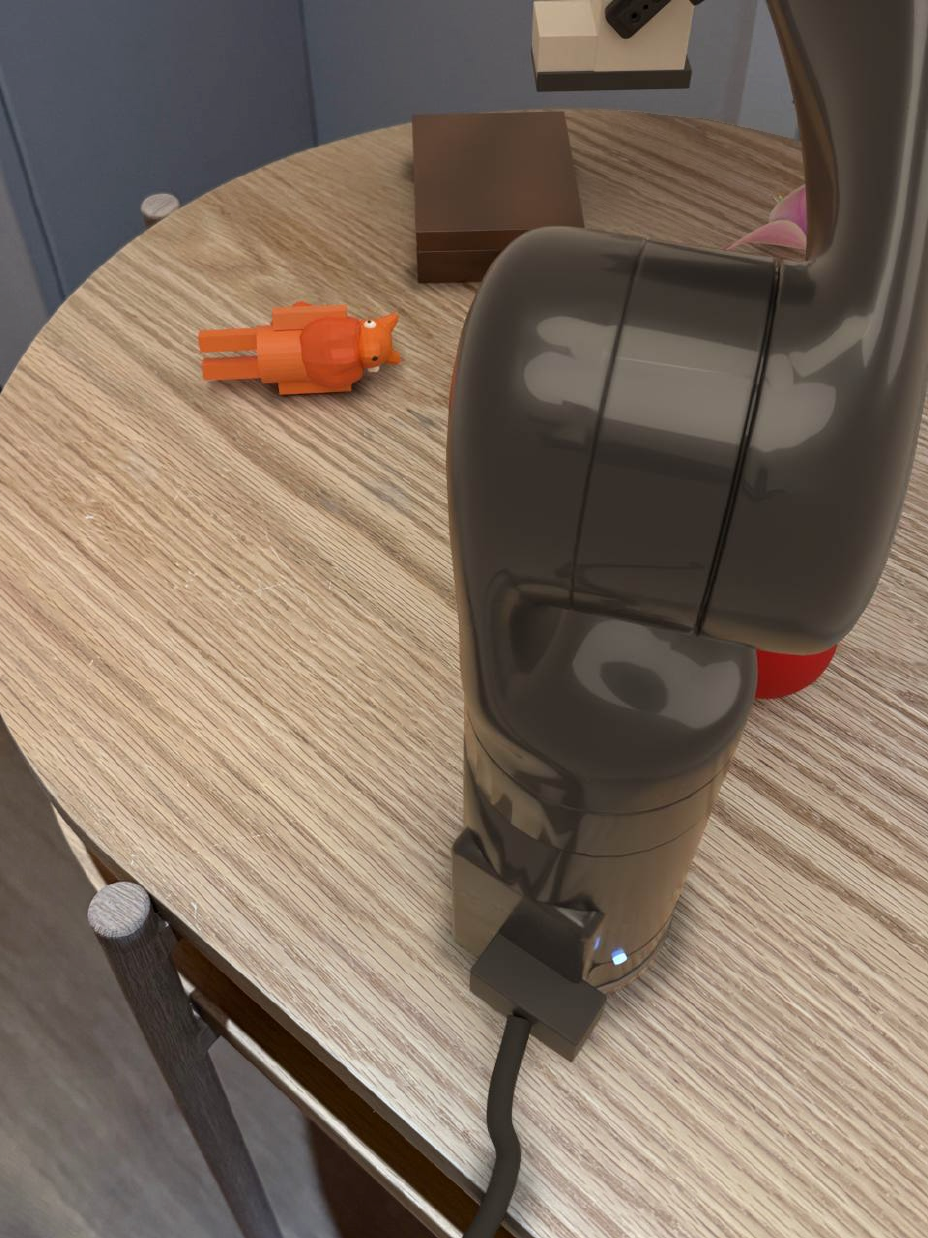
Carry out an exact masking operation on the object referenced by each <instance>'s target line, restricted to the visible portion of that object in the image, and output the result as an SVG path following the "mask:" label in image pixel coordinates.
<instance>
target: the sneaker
mask: <svg viewBox="0 0 928 1238" xmlns="http://www.w3.org/2000/svg"><path fill="white" fill-rule="evenodd" d="M612 1H613V0H534V1H533V6H532V7H533V8H532V10H533V11H532V24H531V25H532V26H531V40H530V41H531V43H530V55H531V64H532V69H533V76H534V82H535V88H536V92H537V93H543V92H544V93H545V92H546V93H547V92H552V93H553V92H586V91H587V92H590V91H591V92H592V91H598V92H599V91H631V90H632V91H637V90H638V91H639V90H642V91H643V90H681V89H682V90H684V89H685V90H687V89H690V86H691V80H692V74H693V68H692V65H691V63H690V59H689V55H688V46H689V41H690V33H691V28H692V21H693V16H694V8H695V6H694V5H693V4H692V3H691V2H690V1H689V0H671V1H670V2H669V3H668V4H667V5H666V6H665V7H664V8H663V9H662V10H661V11H659V12H658V13H657V14H656V15H655V16H654V17H653V18H652V19H651V20H650V21H649V22H647V23H646V24H645V25H644V26H643V27H642V28H641V29H640V30H639V31H638V32H637V33H636V34H634V35H633V36H632V37H631V38H629V39H623V38H621V37H620V36H619V35H618V33H617V32H616V31H615V30H614V29H613V28H612V27H611V26H610V25H609V23H608V22H607V21H606V17H605V8H606V7H607V5H608V4H609V3H611V2H612Z"/></svg>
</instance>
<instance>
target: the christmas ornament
mask: <svg viewBox="0 0 928 1238" xmlns="http://www.w3.org/2000/svg"><path fill="white" fill-rule="evenodd" d="M838 646H839V643H838V644H836V645H835V646H833V647H832V648H830V649H829V650H826V651H823V652H821V653H818V654H812V655H804V656H803V655H792V654H781V653H774V652H768V651H763V650H757V649H756V656H757V668H758V677H757V688H756V692H755V697H754V700H774V699H775V700H776V699H781V698H785V697H787V696H788V697H789V696H792V695H794V694H796V693H799V692H800V691H802V690H804V689H806V688H807V687H809V686H810V685H812V684H813V683H814V682H816V681H817V680H818V679H819V678H820V677H821V675H823V674H824V672H825V671H827V668H828V666H829V665H830V664H831V662H832V660H833V658H834V656H835V654H836V651H837V648H838Z"/></svg>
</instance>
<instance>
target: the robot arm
mask: <svg viewBox="0 0 928 1238" xmlns="http://www.w3.org/2000/svg"><path fill="white" fill-rule="evenodd" d="M670 1H671V0H613V1H612V2H611V3H609V4H608V5H607V7H606V8H605V17H606V21H607V22H608V23H609V25H610V26H611V27H612V28H613V29H614V30H615V31H616V32H617V33H618V35H619V36H620V37H621V38H623V39H629V38H631V37H632V36H633V35H634V34H636V33H637V32H638V31H639V30H640V29H641V28H642V27H643V26H644V25H645V24H646V23H647V22H649V21H650V20H651V19H652V18H653V17H654V16H655V15H656V14H657V13H658V12H659V11H661V10H662V9H663V8H664V7H665V6H666V5H667V4H668V3H669V2H670ZM689 1H690V2H691V3H692V4H693V5H694V7H695V6H698V5H701V4H702V3H703V2H705V0H689ZM764 3H765V5H766V7H767V10H768V13H769V16H770V19H771V22H772V24H773V26H774V31H775V34H776V37H777V41H778V44H779V48H780V51H781V52H780V53H781V55H782V59H783V62H784V66H785V67H784V68H785V70H786V74H787V78H788V82H789V87H790V90H791V96H792V100H793V105H794V109H795V114H796V121H797V126H798V132H799V133H798V134H799V138H800V145H801V156H802V166H803V177H804V184H805V189H806V215H807V227H806V251H805V257H804V261H800V262H799V261H794V260H790V259H786V258H784V259H783V258H782V259H780V260H778V262H776V260H775V258H774V257H771V256H764V255H758V254H752V253H748V252H747V253H746V252H741V251H740V252H739V251H734V250H729V249H728V250H722V249H720V248H715V247H710V246H709V247H708V246H702V245H697V244H690V243H685V242H684V243H683V242H677V241H670V240H665V239H659V238H646V237H642V236H637V235H631V234H624V233H619V232H614V231H607V230H601V229H596V228H594V229H593V228H588V227H585V228H580V227H572V226H543V227H539V228H535V229H531V230H529V231H527V232H525V233H523V234H522V235H520V236H519V237H517V238H515V239H514V240H513V241H512V242H510V243H509V244H508V245H507V247H506V248H505V249H504V250H503V251H502V252H501V253H500V254H499V255H498V256H497V257H496V259H495V260H494V261H493V262H492V264H491V266H490V267H489V269H488V271H487V273H486V274H485V276H484V278H483V280H482V281H480V284H479V286H478V287H477V289H476V292H475V294H474V296H473V299H472V300H471V304H470V306H469V308H468V311H467V314H466V317H465V319H464V323H463V326H462V329H461V333H460V337H459V340H458V343H457V348H456V354H455V358H454V364H453V369H452V375H451V381H450V389H449V391H450V392H449V398H448V399H449V400H448V412H447V413H448V414H447V429H446V442H445V443H446V444H445V474H446V476H445V477H446V497H447V498H446V499H447V516H448V517H447V518H448V535H449V543H450V552H451V562H452V572H453V581H454V590H455V599H456V607H457V608H456V610H457V611H456V612H457V622H458V648H459V650H458V651H459V654H458V655H459V670H460V678H461V685H462V690H463V764H462V765H463V773H462V774H463V779H462V780H463V781H462V782H463V784H462V785H463V789H462V791H463V792H462V795H463V803H462V804H463V805H462V807H463V808H462V812H463V813H462V820H463V821H462V822H463V823H462V825H463V827H462V830H461V832H460V833H459V834H458V836H457V837H456V838H455V839H454V840H453V842H452V844H451V847H450V862H451V863H450V868H451V869H450V870H451V925H452V926H451V927H452V929H451V930H452V932H451V933H452V940H453V941H454V942H455V944H458V945H459V946H460V947H462V948H463V949H464V950H466V951H467V952H469V953H470V954H472V955H474V956H475V957H476V958H478V959H477V960H476V961H475V962H474V964H473V965H472V966H471V968H470V969H469V988H468V989H469V992H470V993H472V994H473V995H474V996H475V997H476V998H478V999H480V1000H481V1001H483V1002H484V1003H485V1004H487V1005H488V1006H490V1007H491V1008H492V1009H494V1010H495V1011H497V1012H498V1013H499V1014H501V1015H502V1016H504V1017H505V1018H506V1022H505V1025H504V1031H503V1034H502V1037H501V1041H500V1044H499V1048H498V1050H497V1054H496V1058H495V1061H494V1065H493V1068H492V1073H491V1077H490V1082H489V1087H488V1093H487V1100H486V1101H487V1103H486V1115H485V1116H486V1127H487V1132H488V1135H489V1138H490V1140H491V1143H492V1145H493V1148H494V1152H495V1160H494V1161H495V1162H494V1165H493V1169H492V1173H491V1177H490V1181H489V1183H488V1186H487V1189H486V1192H485V1194H484V1197H483V1199H482V1201H481V1204H480V1205H479V1208H478V1210H477V1211H476V1214H475V1215H474V1217H473V1218H472V1220H471V1222H470V1224H469V1226H468V1227H467V1228H466V1230H465V1231H464V1233H463V1234H462V1236H461V1238H494V1237H495V1235H496V1233H497V1232H498V1230H499V1228H500V1226H501V1225H502V1222H503V1220H504V1218H505V1215H506V1213H507V1211H508V1209H509V1207H510V1203H511V1200H512V1197H513V1195H514V1192H515V1190H516V1189H515V1188H516V1186H517V1181H518V1177H519V1173H520V1169H521V1164H522V1148H521V1142H520V1140H519V1137H518V1134H517V1132H516V1130H515V1129H516V1128H515V1126H514V1122H513V1105H514V1098H515V1097H514V1096H515V1091H516V1086H517V1082H518V1077H519V1073H520V1069H521V1067H522V1062H523V1060H524V1059H523V1058H524V1055H525V1052H526V1048H527V1044H528V1041H529V1038H530V1035H531V1036H532V1037H534V1038H535V1039H536V1040H538V1041H539V1042H541V1043H542V1044H544V1045H545V1046H546V1047H548V1048H549V1049H550V1050H552V1051H553V1052H555V1053H556V1054H558V1055H559V1056H561V1057H562V1058H563V1059H565V1060H566V1061H568V1062H569V1063H573V1062H574V1061H575V1060H576V1058H577V1056H578V1055H579V1053H580V1051H581V1050H582V1048H583V1047H584V1045H585V1044H586V1043H587V1041H588V1040H589V1037H590V1035H591V1034H592V1033H593V1031H594V1029H595V1028H596V1026H597V1024H598V1023H599V1021H600V1020H601V1019H602V1016H603V1013H604V1010H605V1007H606V1004H607V1000H608V995H610V994H613V993H615V992H617V991H620V990H621V989H623V988H625V987H627V986H628V985H630V984H631V983H632V982H634V981H635V980H637V979H638V978H639V977H641V976H642V975H643V974H644V973H645V972H646V971H647V970H648V969H649V968H650V966H651V965H652V964H653V963H654V961H655V960H656V959H657V957H658V955H659V954H660V953H661V950H662V948H663V946H664V945H665V941H666V939H667V937H668V933H669V932H670V929H671V927H672V926H671V925H672V924H673V923H672V922H673V918H674V913H675V909H676V907H677V904H678V902H679V899H680V895H681V893H682V890H683V887H684V885H685V883H686V881H687V877H688V874H689V872H690V869H691V867H692V864H693V861H694V859H695V857H696V854H697V851H698V848H699V846H700V843H701V841H702V838H703V836H704V833H705V831H706V828H707V826H708V822H709V820H710V817H711V815H712V812H713V810H714V807H715V804H716V801H717V800H718V797H719V794H720V791H721V788H722V786H723V784H724V782H725V779H726V777H727V775H728V772H729V769H730V767H731V764H732V761H733V759H734V756H735V753H736V751H737V749H738V746H739V744H740V741H741V739H742V735H743V734H744V730H745V728H746V726H747V722H748V721H749V719H750V714H751V712H752V709H753V705H754V701H755V699H754V697H755V692H756V688H757V677H758V668H757V656H756V649H757V650H763V651H768V652H774V653H781V654H792V655H803V656H804V655H812V654H818V653H821V652H823V651H826V650H829V649H830V648H832V647H833V646H835V645H836V644H838V645H839V643H841V641H842V640H843V639H844V638H845V637H847V636H848V635H849V633H851V631H852V630H853V629H854V627H855V626H856V624H857V623H858V622H859V620H860V618H861V617H862V615H863V614H864V612H865V611H866V609H867V608H868V607H869V605H870V603H871V601H872V598H873V596H874V594H875V591H876V588H877V587H878V584H879V582H880V579H881V578H882V574H883V572H884V570H885V567H886V565H887V563H888V560H889V557H890V555H891V551H892V549H893V545H894V543H895V538H896V535H897V531H898V529H899V527H900V522H901V519H902V515H903V511H904V507H905V502H906V499H907V493H908V490H909V485H910V481H911V477H912V471H913V466H914V463H915V457H916V452H917V446H918V442H919V437H920V430H921V424H922V419H923V413H924V407H925V402H926V396H927V390H928V0H764Z"/></svg>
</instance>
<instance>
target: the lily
mask: <svg viewBox="0 0 928 1238" xmlns="http://www.w3.org/2000/svg"><path fill="white" fill-rule="evenodd" d="M781 194H782V196H781ZM777 197H778V198H779V200H777V199H776V198H775V197H773V196H772V195H771V196H770V198H771V199H772V200H773V201H776V202H777V204H776V205H775V206H774V208H772V210H771V212H770V214H769V217H768V223H766V224H764V225H761V226H760V227H758V228H757V229H754V230H753V231H752V232H749V233H748V234H746V235H745V236H743V237H742V238H739V239H736V240H732V241H730V242H728V243H726V244H725V245H723V246H721V247H719V249H722V250H728V251H729V250H730V249H733V248H735V247H738V246H739V245H742V244H749V243H751V244H765V245H771V246H772V245H773V246H779V247H787V248H790V249H791V248H793V249H797V250H803V251H805V252H806V227H807V215H806V189H805V183H804V184H802V185H800V186H799V187H798V188H796V189H794V190H793V191H792V192H790V193H789V194H787V195H786V196H785V194H784V192H781V193H777Z"/></svg>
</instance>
